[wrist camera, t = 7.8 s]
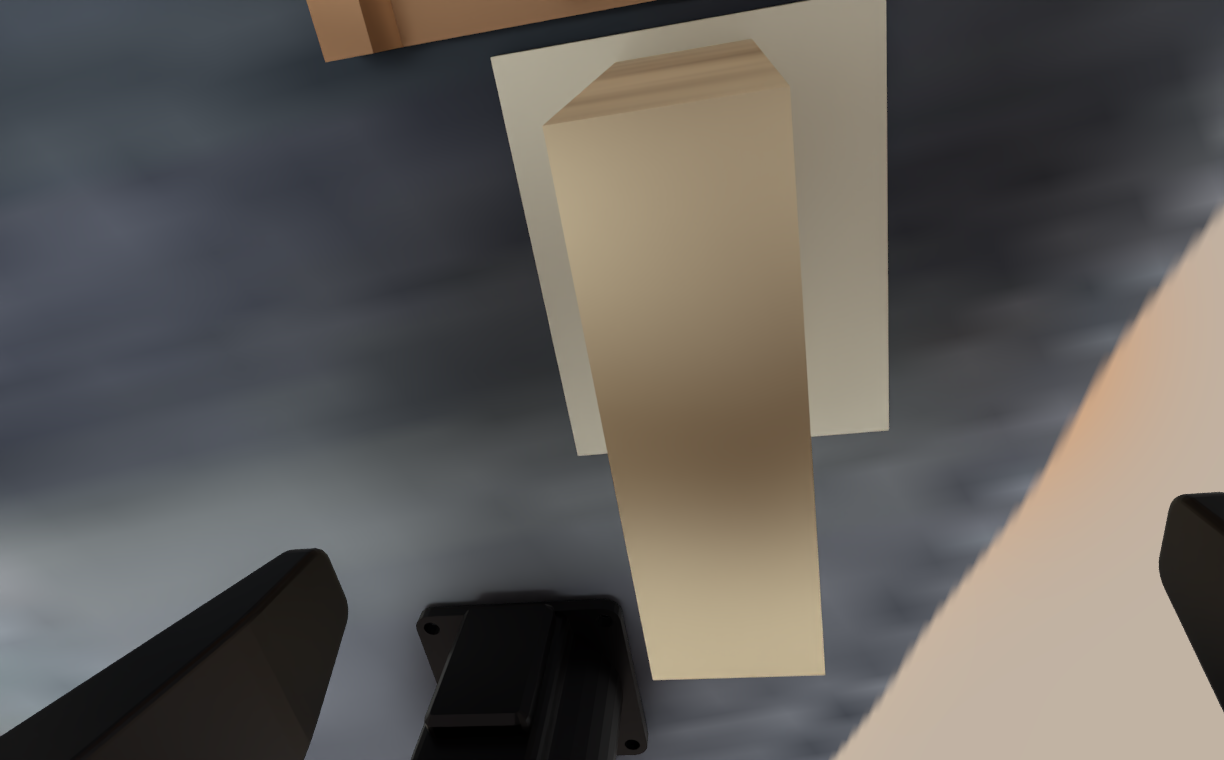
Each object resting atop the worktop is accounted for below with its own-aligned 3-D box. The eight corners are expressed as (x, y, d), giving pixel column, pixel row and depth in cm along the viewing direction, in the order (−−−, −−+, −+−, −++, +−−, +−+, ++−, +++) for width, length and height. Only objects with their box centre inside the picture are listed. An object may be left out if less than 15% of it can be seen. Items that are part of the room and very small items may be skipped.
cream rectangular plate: (885, 421, 19) (888, 430, 19) (580, 447, 21) (578, 455, 20) (882, -14, 15) (886, -13, 15) (494, 55, 16) (490, 57, 16)
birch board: (781, 422, 19) (825, 674, 12) (672, 431, 20) (652, 680, 13) (751, 38, 15) (790, 86, 8) (615, 61, 16) (541, 125, 9)
